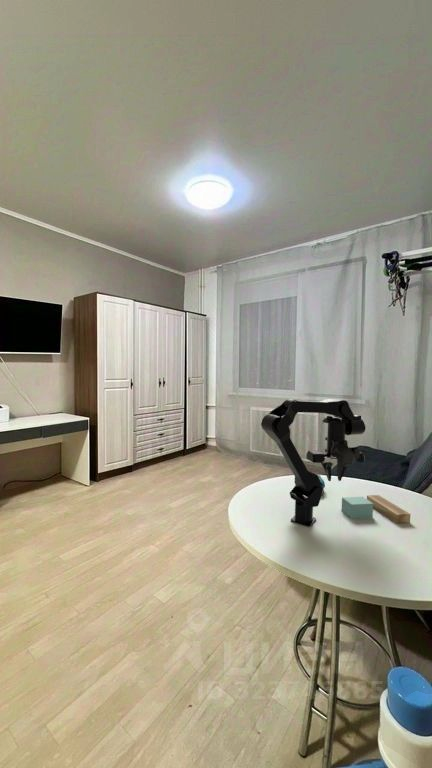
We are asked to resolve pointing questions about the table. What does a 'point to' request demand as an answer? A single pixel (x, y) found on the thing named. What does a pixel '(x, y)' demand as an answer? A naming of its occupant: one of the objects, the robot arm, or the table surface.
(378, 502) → the board
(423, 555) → the table surface
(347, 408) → the robot arm
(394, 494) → the table surface
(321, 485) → the toy
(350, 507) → the block
